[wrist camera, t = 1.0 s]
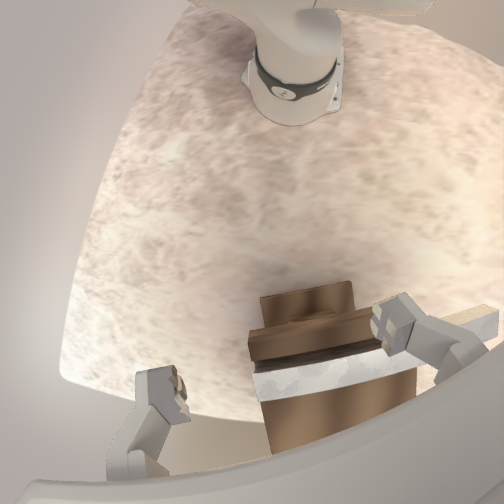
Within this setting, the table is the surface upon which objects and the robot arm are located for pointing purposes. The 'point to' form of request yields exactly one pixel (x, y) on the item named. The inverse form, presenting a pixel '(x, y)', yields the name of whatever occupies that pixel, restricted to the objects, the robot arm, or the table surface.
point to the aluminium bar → (352, 361)
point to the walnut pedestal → (316, 338)
